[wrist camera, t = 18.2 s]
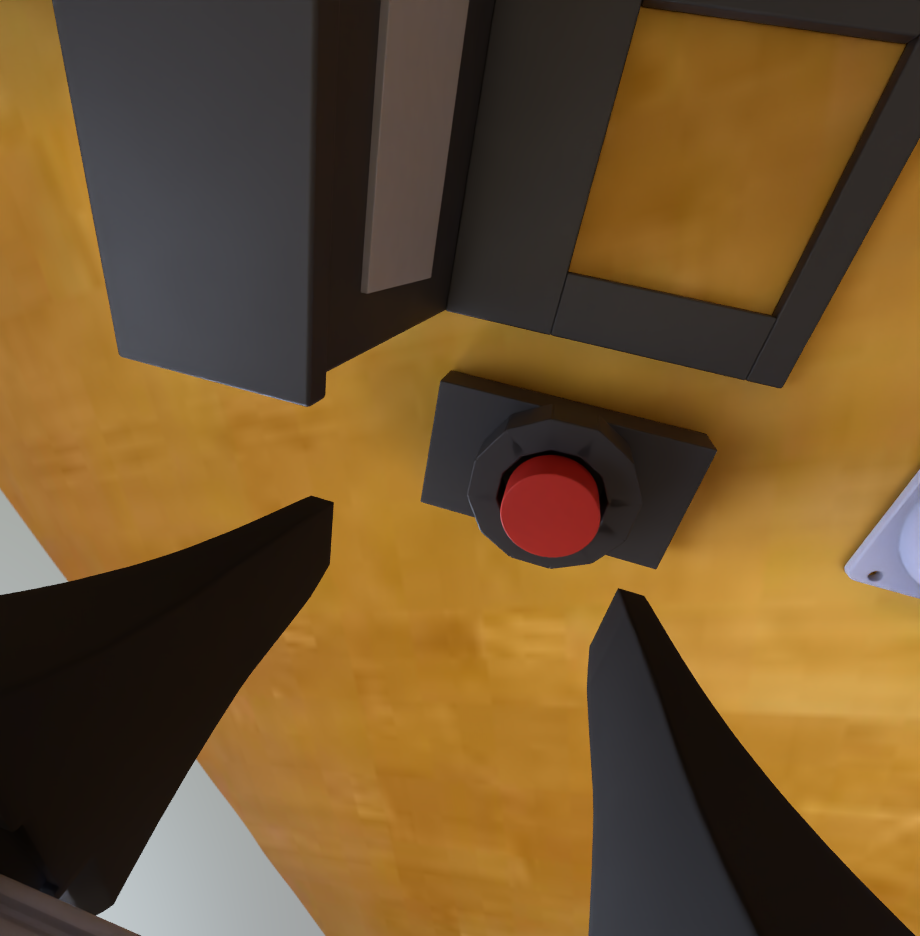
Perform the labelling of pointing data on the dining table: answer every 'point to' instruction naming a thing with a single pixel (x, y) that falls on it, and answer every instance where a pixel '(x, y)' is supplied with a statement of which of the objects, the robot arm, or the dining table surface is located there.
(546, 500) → the power button
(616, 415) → the control pad
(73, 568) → the dining table surface
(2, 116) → the dining table surface
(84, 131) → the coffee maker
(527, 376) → the dining table surface
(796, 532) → the dining table surface
